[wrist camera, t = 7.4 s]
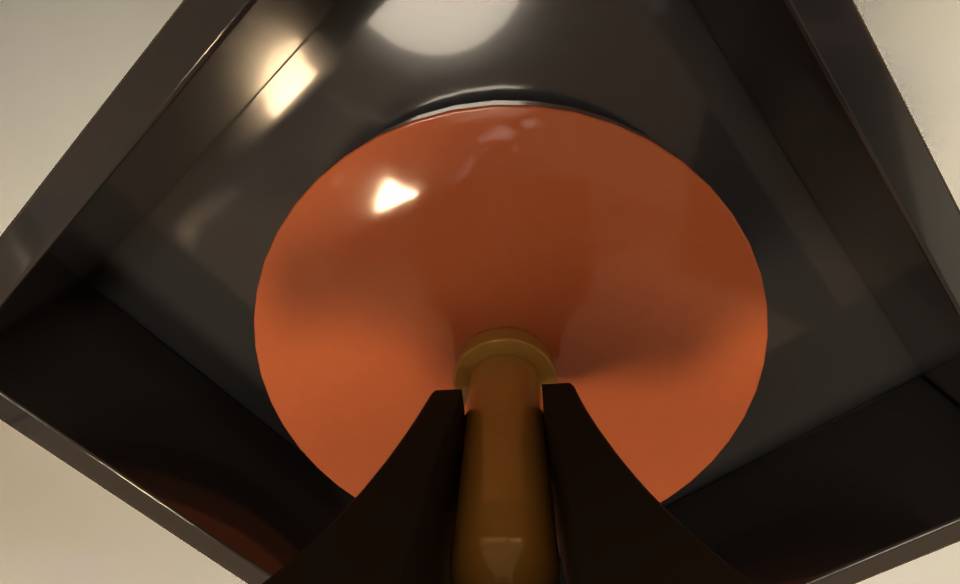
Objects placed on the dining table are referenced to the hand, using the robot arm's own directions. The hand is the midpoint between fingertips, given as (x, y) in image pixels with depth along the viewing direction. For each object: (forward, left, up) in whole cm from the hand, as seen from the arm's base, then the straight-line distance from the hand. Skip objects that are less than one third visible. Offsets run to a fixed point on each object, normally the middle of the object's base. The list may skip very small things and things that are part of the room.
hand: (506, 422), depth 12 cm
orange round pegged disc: (0, 0, -3) cm, 3 cm away
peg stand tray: (0, 0, -5) cm, 5 cm away
